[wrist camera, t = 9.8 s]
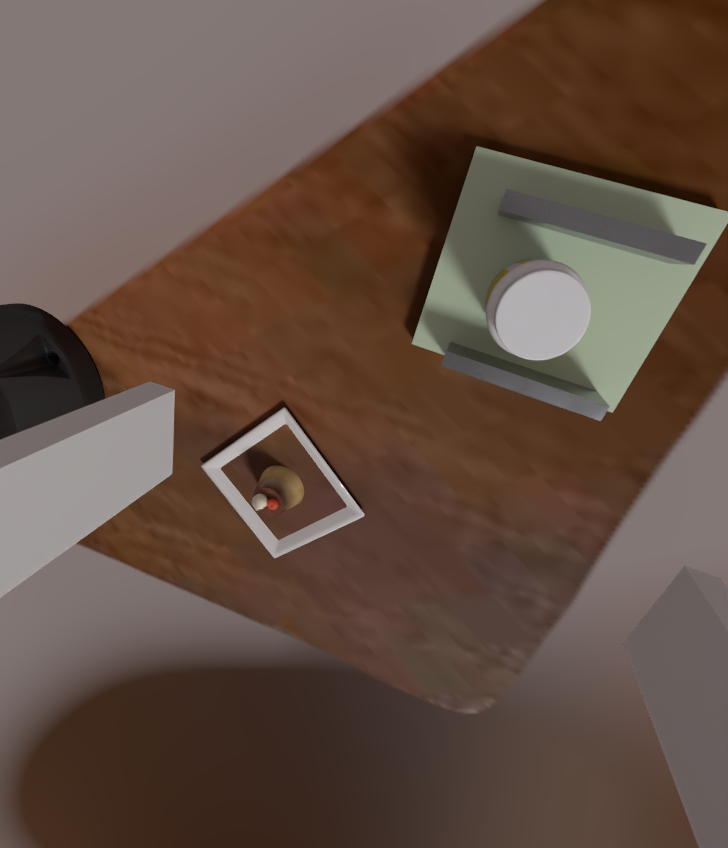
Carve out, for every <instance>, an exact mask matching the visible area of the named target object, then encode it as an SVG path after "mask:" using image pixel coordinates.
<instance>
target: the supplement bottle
mask: <svg viewBox="0 0 728 848" xmlns="http://www.w3.org/2000/svg"><path fill="white" fill-rule="evenodd" d="M590 315H591V304H590V299H589V296H588V292H587V289H586V286H585V284H584V282H583V280H582V279H581V277H580V276H579V275H578V274H577V273H576V272H575V271H574V270H573V269H572V268H570V267H569V266H567V265H565V264H563V263H561V262H557V261H553V260H542V259H528V260H522V261H518V262H516V263H513V264H511V265H509V266H508V267H506V268H505V269H504V270H502V271H501V272H500V273H499V274H498V275H497V276H496V277H495V279H494V280H493V281H492V283H491V285H490V287H489V289H488V292H487V296H486V322H487V327H488V329H489V332H490V334H491V336H492V338H493V339H494V340H495V342H496V343H497V344H498V345H499V346H500V347H502V348H503V349H504V350H506V351H507V352H509V353H511V354H514V355H516V356H518V357H521V358H524V359H528V360H547V359H551V358H554V357H557V356H560V355H561V354H563V353H565V352H567V351H568V350H570V349H571V348H572V347H573V346H575V345H576V344H577V343H578V341H579V340H580V339H581V337H582V336H583V335H584V333H585V331H586V329H587V327H588V324H589V321H590Z"/></svg>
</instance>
